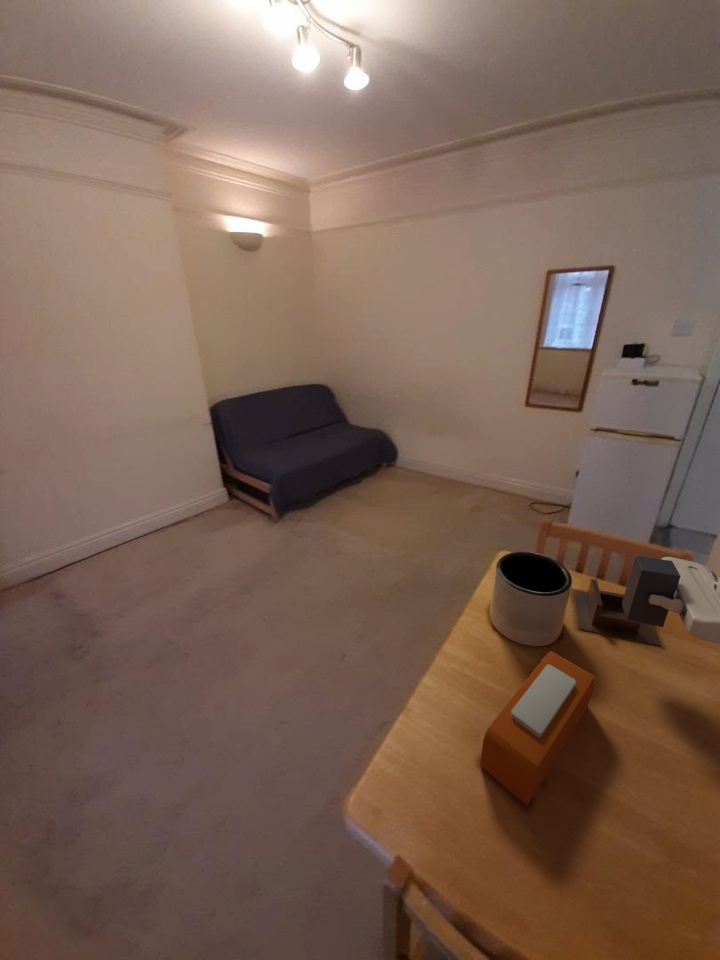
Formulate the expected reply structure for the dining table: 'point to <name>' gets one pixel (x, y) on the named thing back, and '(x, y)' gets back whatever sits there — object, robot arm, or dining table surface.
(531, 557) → the planter
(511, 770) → the alarm clock
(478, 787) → the dining table surface
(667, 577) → the dark grey block
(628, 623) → the brown holder on base
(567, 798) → the dining table surface
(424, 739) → the dining table surface
